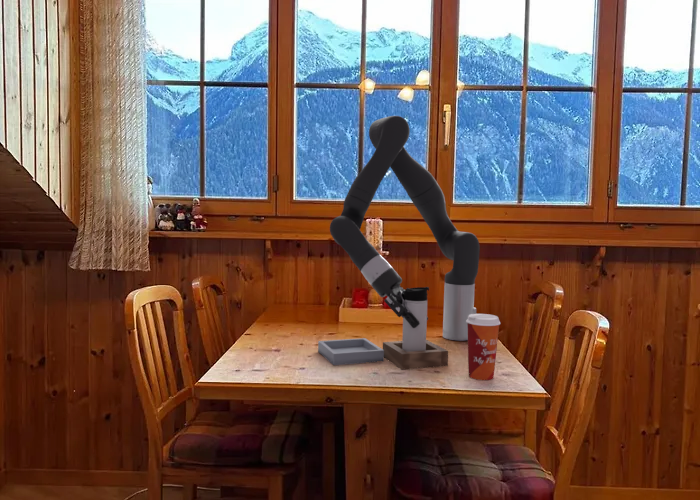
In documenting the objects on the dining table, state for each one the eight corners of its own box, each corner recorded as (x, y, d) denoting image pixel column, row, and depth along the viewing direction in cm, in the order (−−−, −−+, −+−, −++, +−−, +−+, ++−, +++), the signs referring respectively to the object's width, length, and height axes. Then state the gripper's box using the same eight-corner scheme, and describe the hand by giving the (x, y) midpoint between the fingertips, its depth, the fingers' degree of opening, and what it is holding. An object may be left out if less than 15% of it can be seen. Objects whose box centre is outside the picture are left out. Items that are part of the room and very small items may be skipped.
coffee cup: (478, 383, 141) (481, 321, 140) (457, 374, 148) (459, 314, 147) (505, 379, 145) (508, 318, 143) (483, 370, 152) (486, 312, 151)
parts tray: (364, 348, 171) (365, 338, 171) (383, 361, 158) (384, 350, 158) (318, 351, 167) (318, 341, 167) (333, 365, 154) (333, 353, 153)
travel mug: (425, 365, 155) (428, 289, 154) (400, 363, 157) (402, 287, 155) (427, 358, 162) (430, 285, 160) (403, 357, 163) (405, 284, 161)
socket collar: (425, 353, 167) (425, 339, 167) (447, 366, 155) (448, 350, 155) (382, 356, 163) (382, 342, 163) (402, 369, 151) (402, 354, 150)
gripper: (380, 269, 154) (422, 319, 150) (400, 264, 167) (439, 310, 163) (361, 288, 156) (402, 338, 152) (382, 281, 169) (420, 327, 165)
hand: (421, 323), depth 157 cm, fingers closed on travel mug, 6 cm apart
